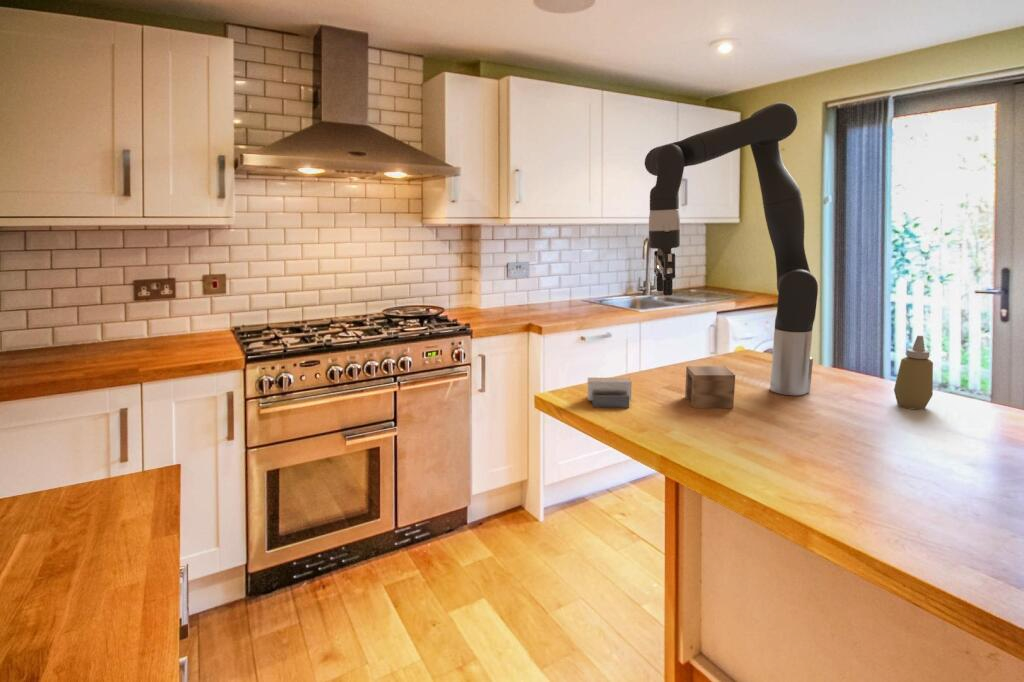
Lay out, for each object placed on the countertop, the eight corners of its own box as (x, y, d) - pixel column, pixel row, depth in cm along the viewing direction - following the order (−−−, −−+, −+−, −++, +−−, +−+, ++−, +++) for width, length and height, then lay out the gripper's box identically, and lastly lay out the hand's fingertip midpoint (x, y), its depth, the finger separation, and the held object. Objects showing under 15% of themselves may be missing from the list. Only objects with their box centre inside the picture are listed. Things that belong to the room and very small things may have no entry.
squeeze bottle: (936, 412, 147) (946, 339, 144) (900, 410, 149) (908, 338, 145) (921, 402, 155) (931, 333, 151) (887, 400, 157) (895, 332, 153)
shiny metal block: (629, 396, 160) (629, 377, 159) (631, 400, 157) (631, 382, 156) (587, 395, 161) (587, 377, 160) (588, 400, 157) (588, 381, 156)
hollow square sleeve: (723, 397, 162) (725, 366, 160) (733, 408, 153) (735, 375, 151) (685, 397, 162) (686, 366, 160) (692, 407, 153) (694, 375, 152)
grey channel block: (624, 396, 164) (624, 385, 163) (629, 408, 154) (629, 396, 153) (590, 396, 164) (590, 385, 164) (593, 407, 155) (593, 396, 154)
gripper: (644, 228, 159) (644, 290, 162) (654, 230, 145) (654, 297, 149) (673, 227, 159) (673, 289, 162) (686, 228, 145) (685, 296, 148)
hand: (664, 293), depth 155 cm, fingers open, 8 cm apart
